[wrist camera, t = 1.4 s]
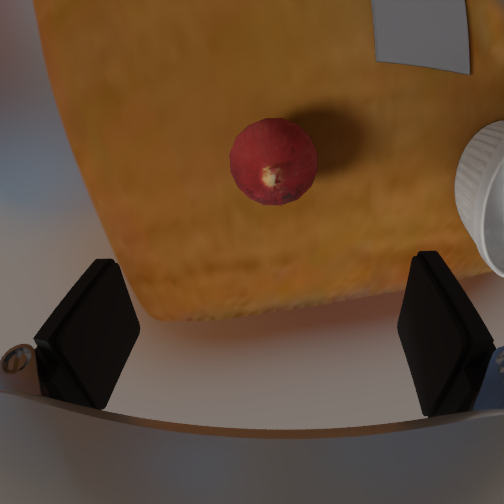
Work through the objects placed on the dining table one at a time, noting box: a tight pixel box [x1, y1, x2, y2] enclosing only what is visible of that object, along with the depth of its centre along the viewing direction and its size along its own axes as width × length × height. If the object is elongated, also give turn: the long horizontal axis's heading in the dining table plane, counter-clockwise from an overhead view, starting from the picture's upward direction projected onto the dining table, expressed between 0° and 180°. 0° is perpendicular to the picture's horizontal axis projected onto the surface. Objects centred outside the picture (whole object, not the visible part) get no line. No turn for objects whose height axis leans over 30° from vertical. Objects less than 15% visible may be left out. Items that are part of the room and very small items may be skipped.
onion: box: [230, 118, 318, 205], centre depth 21 cm, size 6×6×8 cm
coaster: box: [371, 0, 470, 75], centre depth 17 cm, size 8×8×1 cm
